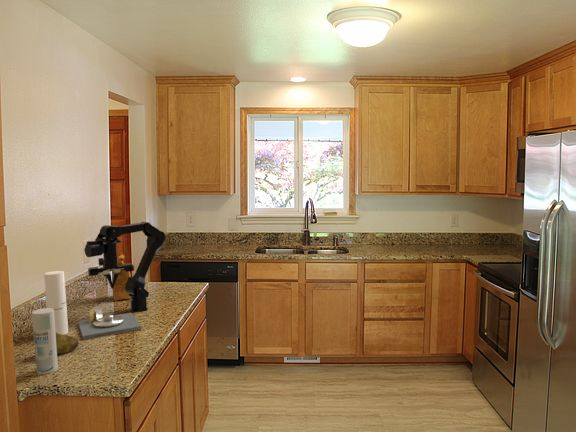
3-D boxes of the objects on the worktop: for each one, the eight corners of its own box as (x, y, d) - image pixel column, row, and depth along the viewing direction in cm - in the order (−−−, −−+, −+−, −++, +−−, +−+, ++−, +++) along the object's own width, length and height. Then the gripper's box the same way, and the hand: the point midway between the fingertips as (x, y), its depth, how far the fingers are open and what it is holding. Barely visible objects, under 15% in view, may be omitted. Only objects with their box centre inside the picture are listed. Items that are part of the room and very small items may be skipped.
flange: (93, 318, 207) (92, 308, 207) (128, 317, 206) (127, 307, 206) (80, 327, 195) (79, 316, 194) (117, 327, 194) (116, 316, 194)
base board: (131, 315, 215) (130, 302, 215) (141, 329, 196) (140, 315, 195) (78, 324, 205) (77, 310, 205) (83, 339, 186) (82, 324, 185)
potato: (75, 355, 170) (74, 333, 170) (36, 359, 167) (34, 337, 167) (80, 346, 178) (78, 325, 178) (42, 350, 175) (40, 329, 175)
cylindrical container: (72, 331, 197) (67, 271, 194) (58, 336, 190) (54, 275, 188) (58, 329, 199) (54, 270, 197) (44, 335, 192) (39, 274, 190)
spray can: (61, 365, 161) (57, 307, 159) (52, 373, 155) (48, 313, 153) (42, 366, 161) (37, 308, 159) (32, 374, 154) (27, 314, 153)
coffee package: (134, 294, 254) (132, 253, 252) (132, 300, 242) (129, 257, 240) (114, 295, 252) (112, 254, 250) (111, 301, 240) (108, 258, 238)
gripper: (128, 249, 223) (130, 282, 225) (85, 253, 215) (87, 287, 216) (133, 252, 214) (135, 286, 215) (88, 257, 205) (90, 292, 206)
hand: (112, 288), depth 214 cm, fingers closed
